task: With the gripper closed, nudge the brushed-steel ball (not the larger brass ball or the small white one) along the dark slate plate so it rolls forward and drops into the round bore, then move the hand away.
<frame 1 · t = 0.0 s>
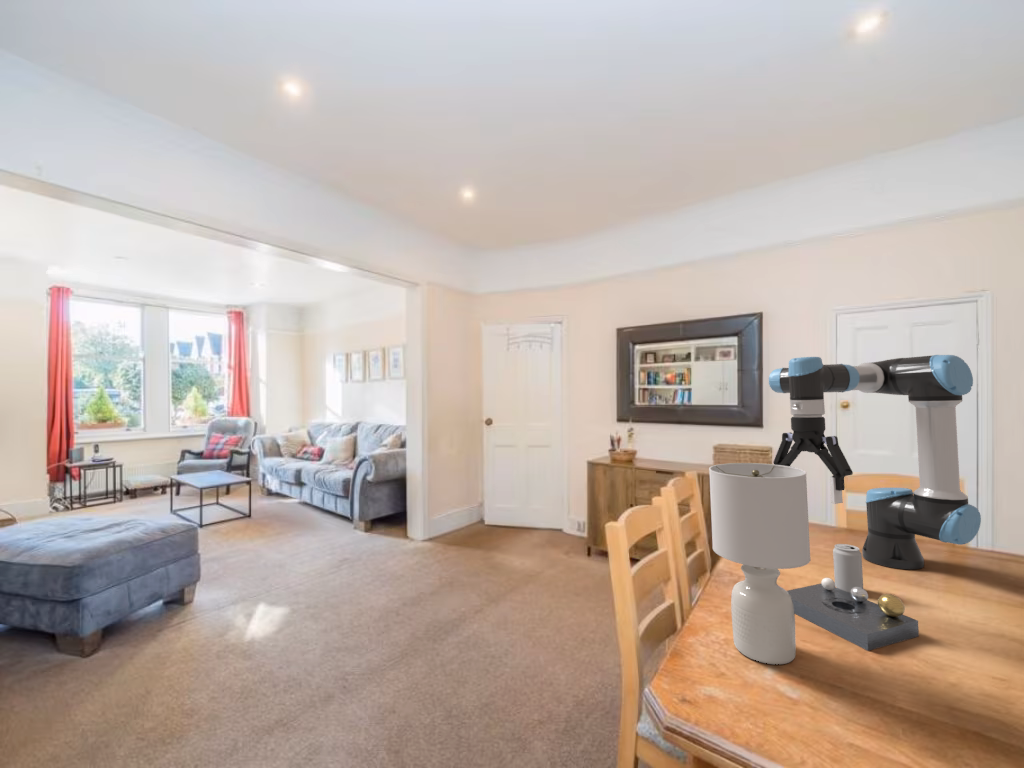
hand: (811, 497, 118), 28 cm above the table, fingers open, 13 cm apart
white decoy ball: (828, 583, 118), point 5 cm above the table, touching plate
plate: (843, 620, 110), on the table
lamp: (763, 651, 98), on the table
steel ball: (859, 594, 111), point 5 cm above the table, touching plate
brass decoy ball: (891, 605, 104), point 6 cm above the table, touching plate
beverage can: (849, 591, 125), on the table
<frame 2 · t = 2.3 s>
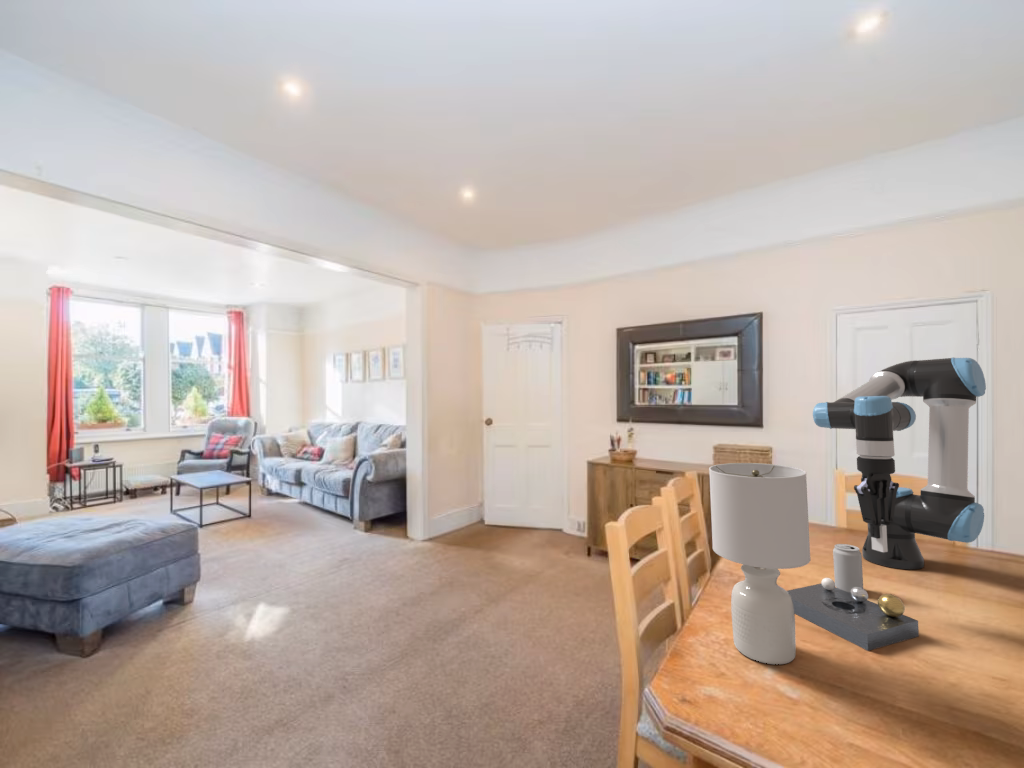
hand: (879, 550, 114), 15 cm above the table, fingers closed
nothing on the table moved.
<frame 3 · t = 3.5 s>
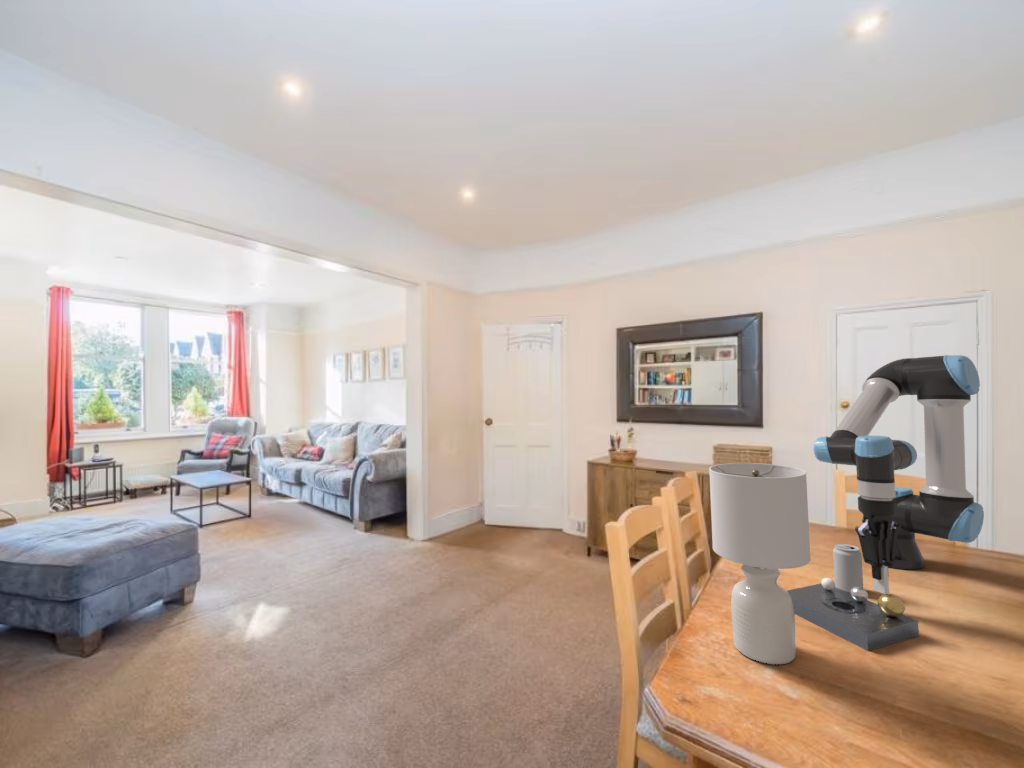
hand: (881, 591, 114), 5 cm above the table, fingers closed
nothing on the table moved.
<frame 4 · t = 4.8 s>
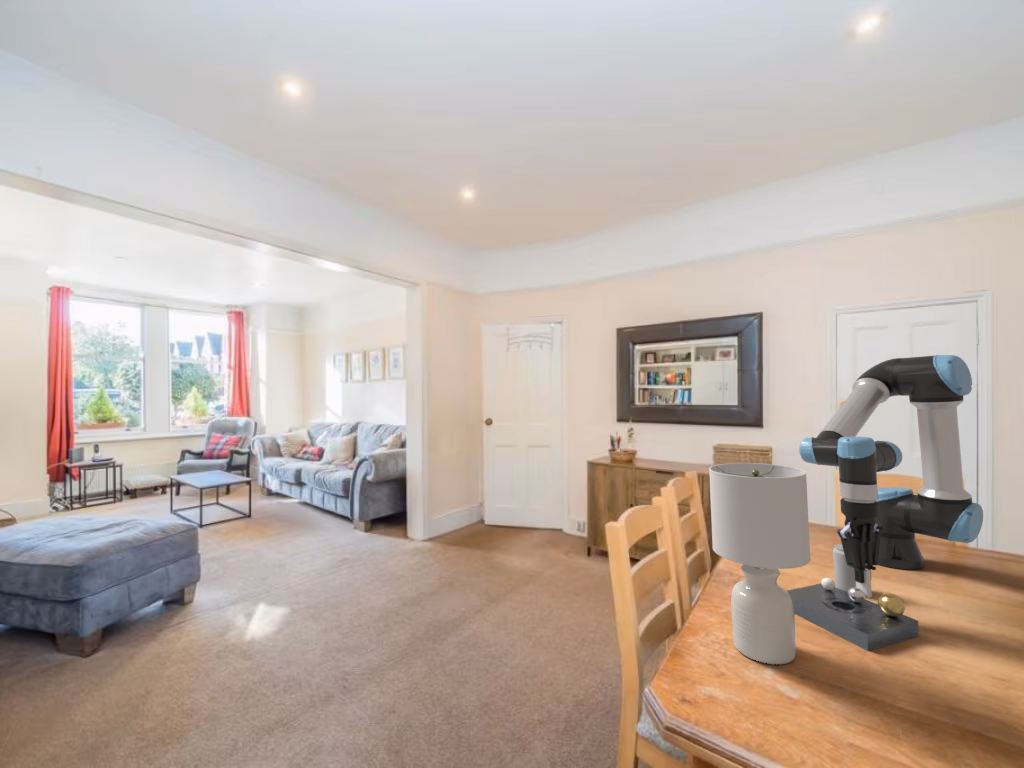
hand: (863, 594, 112), 5 cm above the table, fingers closed
steel ball: (856, 595, 111), point 5 cm above the table, tilted 28°, touching gripper, plate
everything else where it was.
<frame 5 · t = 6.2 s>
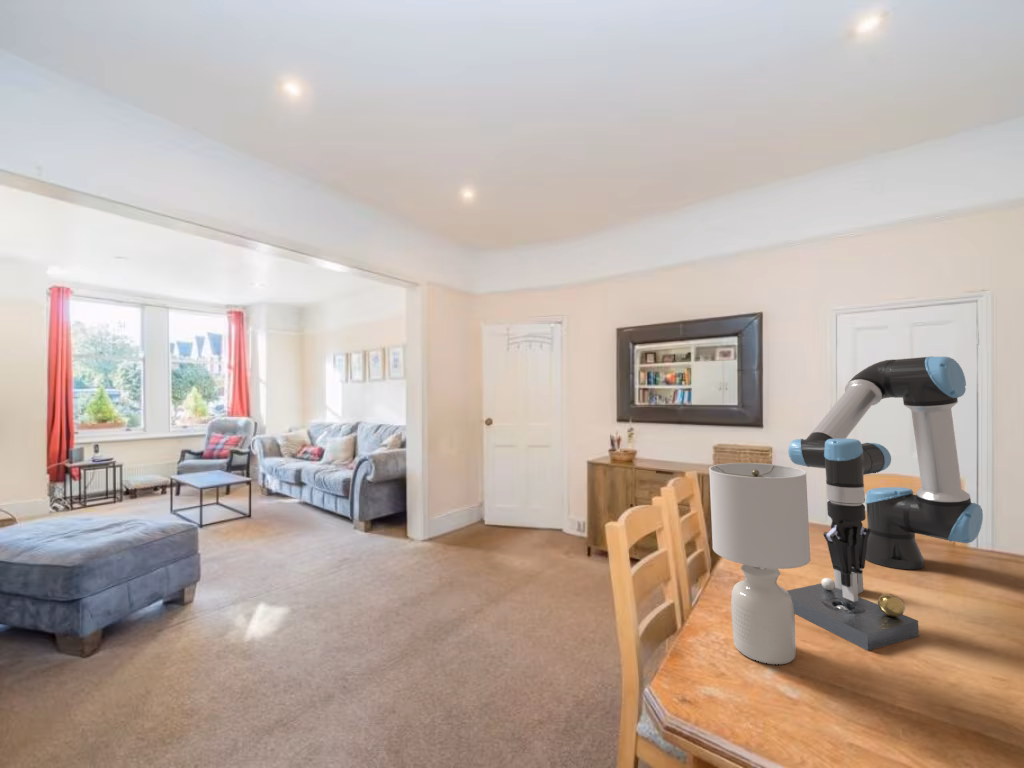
hand: (850, 598, 111), 5 cm above the table, fingers closed
steel ball: (842, 613, 110), point 2 cm above the table, tilted 132°
everything else where it was.
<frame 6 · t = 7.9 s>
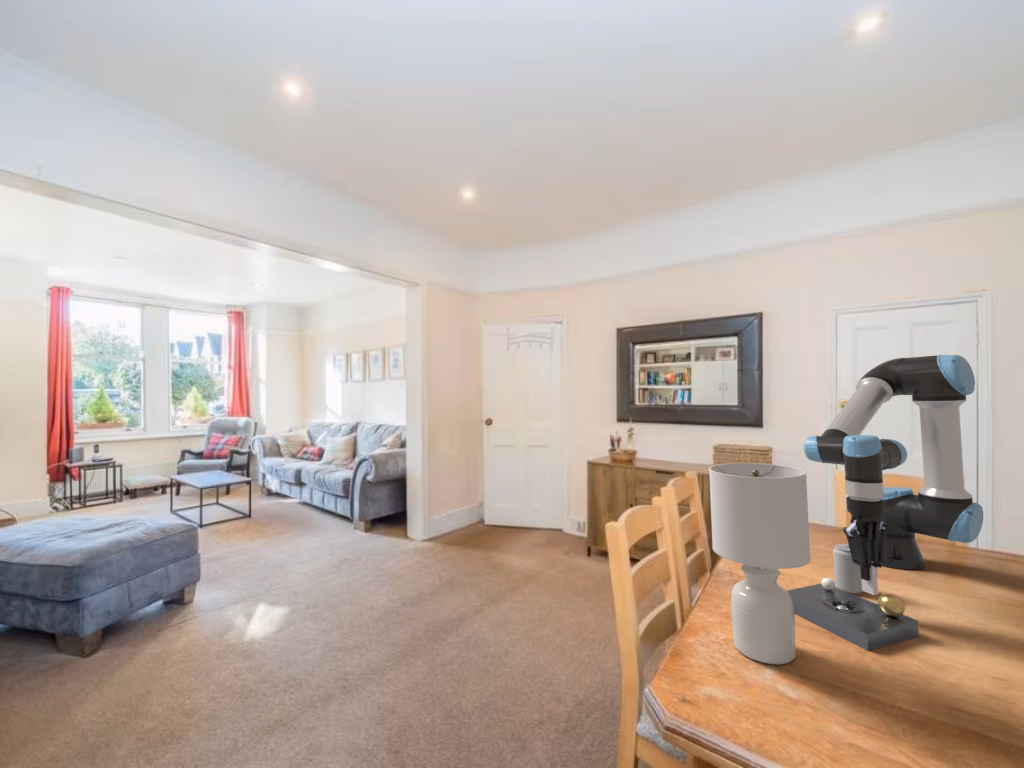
hand: (870, 592, 113), 5 cm above the table, fingers closed
nothing on the table moved.
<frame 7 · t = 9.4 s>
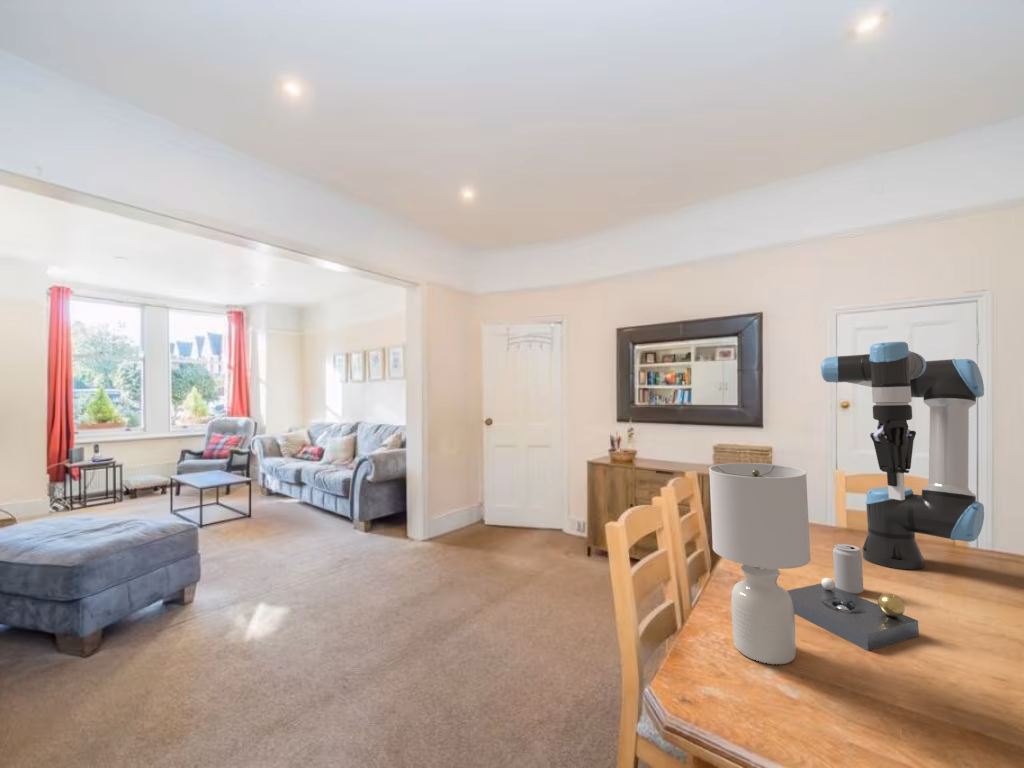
hand: (896, 498, 112), 28 cm above the table, fingers closed
nothing on the table moved.
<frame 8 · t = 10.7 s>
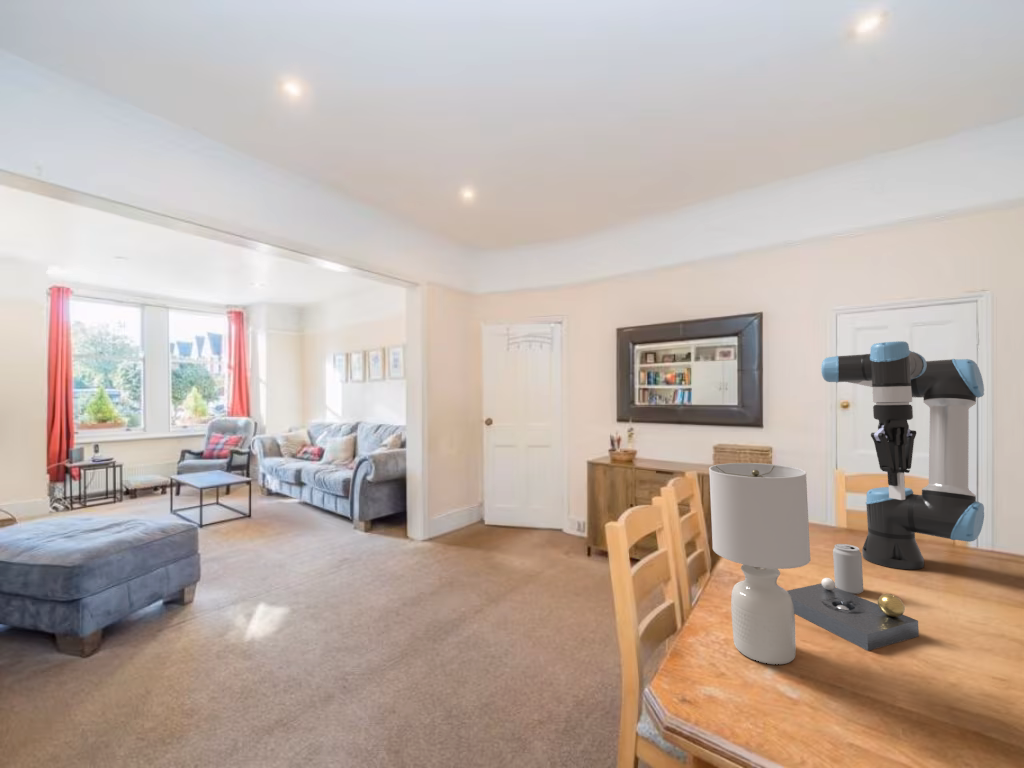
hand: (897, 498, 112), 28 cm above the table, fingers closed
nothing on the table moved.
at the end: steel ball 0.3 cm off-centre in the plate, point 1.7 cm above the plate's base; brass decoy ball moved 0.0 cm from its start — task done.
